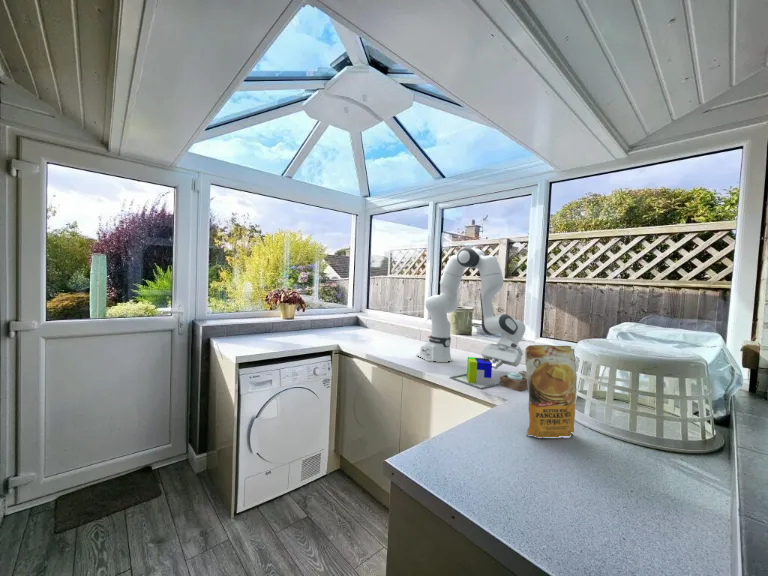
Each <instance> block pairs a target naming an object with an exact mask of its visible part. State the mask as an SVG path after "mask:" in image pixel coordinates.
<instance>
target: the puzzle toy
mask: <svg viewBox="0 0 768 576" xmlns="http://www.w3.org/2000/svg"><path fill="white" fill-rule="evenodd" d="M466 365H467V366H466V373H467V375H466V378H467V379H466V380H467V383H470V384H473V385H474V384H475V385H476V384H478V385H484V386H485V385H486V386H489V385H492V375H493V373H492V372H493V371H492V370H493V368H492V361H491V360H489V359H485V358H483V357H473V356H472V357H471V356H470V357H469V356H467V363H466Z"/></svg>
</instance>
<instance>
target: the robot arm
mask: <svg viewBox="0 0 768 576" xmlns="http://www.w3.org/2000/svg"><path fill="white" fill-rule="evenodd" d="M467 268H468V269H477V270H478V272H479V277H480V281H481V282H480V283H481V290H480V297H479V299H480V307H481V317H482V318H481V328H482V331H483V332H484V333H485V335H487V336H494V335H499V334H500V336H501V337H500V339H499V340H498V342H497V343H496V344H494V343H488V344H487V345H486V347H484V349H483V350H481V353H480V354H481V356H482V358H485V359H489V360H490V361H491V363H492V369H495V370H498V368H499V367H500V366H503V365H508V366H511V367H515V368H516V367H518V366H519V365H520V364H521V361H522V359H523V358H522V357H523V356H524V352H523V350H522V348H521V346H520V345H518V344H519V343H520V342H521V340H522V339H523V337H524V335H525V333H526V325H525V323H523V321H521V320H519V319H515V318H513V317H512V316H511V315H509V314H505V313H503V314H497V315H494V309H493V299H494V297H495V296H496V295H497V293H498V292H499V291H501V290H502V288H503V286H504V277H503V272H502V269H501V266H500V264H499V261H498V259H497V257H495V256H494V255H488V254H487V253H486V251H484V250H482V249H479V248H475V247H463V248H461V249H460V250H459V251H458V252H457V254H454V255H451V256H450V257H449V259H448V261H447V263H446V265H445V266H444V269H443V273H442V276H441V278H440V281H439V284H440V287H441V291H440V294H434V295H431V296H428V297H427V299H426V300H425V308H426V311H428V313H429V316H430V320H431V335H429V336H427V338H428V341H426V343H424V344H422V346H421V347H420V351H419V352H418V353H416V354H415V356H416V355H417V356H416V357H418V356H419V358H420V357H421V358H420V359H422V358H423V359H422V360H424V359H425V361H427V362H433V361H436V362H437V363H449V362H448V361H450V362H452V361H451V360H452V356H451V341H452V340H451V326H452V324H451V322H450V321H449V319H448V315H447V314H449V313H453V312H455V311H456V310H458V308H459V299H458V293H459V292H458V290H459V288H460V283H461V282H462V281H461V280H462V279H463V275H464V272H465V271H466V269H467ZM436 362H435V363H436Z"/></svg>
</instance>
